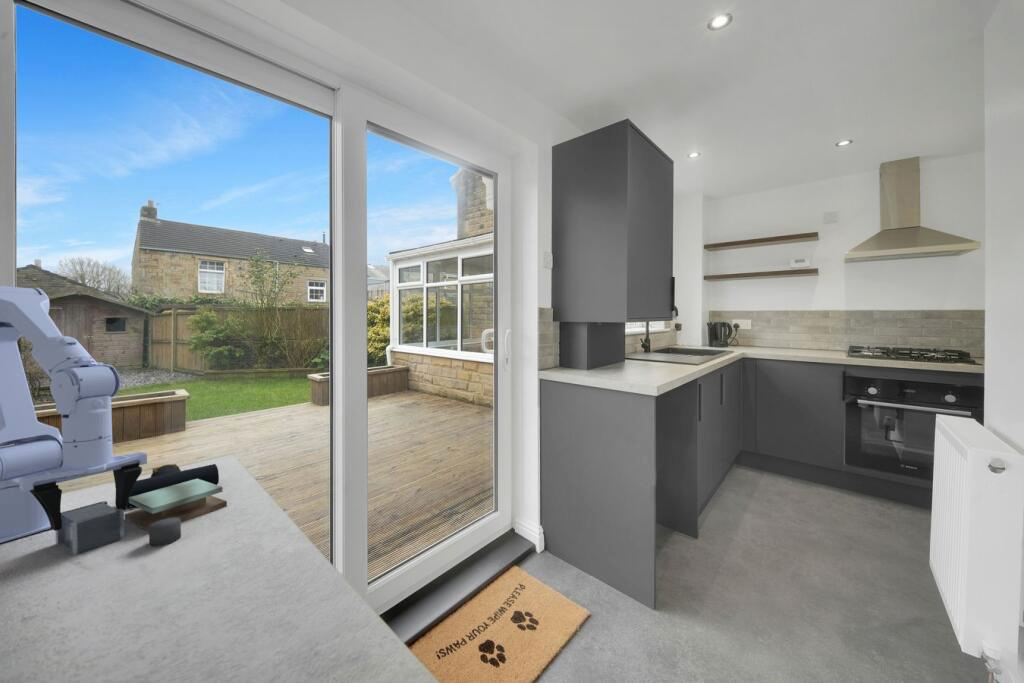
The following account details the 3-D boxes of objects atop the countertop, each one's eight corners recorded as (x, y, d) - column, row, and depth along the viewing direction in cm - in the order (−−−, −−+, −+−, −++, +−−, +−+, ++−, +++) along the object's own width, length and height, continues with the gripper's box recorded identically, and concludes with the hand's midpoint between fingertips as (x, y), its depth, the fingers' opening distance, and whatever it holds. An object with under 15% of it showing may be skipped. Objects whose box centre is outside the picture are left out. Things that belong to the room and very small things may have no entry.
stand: (150, 532, 69) (150, 509, 69) (124, 519, 74) (124, 498, 74) (226, 506, 79) (226, 486, 79) (199, 495, 85) (198, 477, 84)
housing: (124, 538, 67) (123, 509, 67) (73, 556, 62) (72, 524, 61) (105, 528, 71) (105, 500, 71) (55, 544, 65) (55, 514, 65)
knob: (155, 549, 64) (155, 531, 63) (144, 543, 65) (144, 525, 65) (185, 538, 67) (185, 520, 67) (174, 532, 69) (174, 515, 69)
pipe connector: (118, 472, 85) (204, 455, 97) (119, 496, 85) (204, 476, 97) (127, 485, 78) (218, 465, 90) (127, 512, 78) (219, 488, 90)
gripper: (27, 452, 58) (30, 544, 58) (153, 431, 70) (155, 506, 71) (13, 446, 61) (16, 533, 61) (136, 427, 74) (138, 499, 74)
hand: (90, 518), depth 66 cm, fingers open, 7 cm apart
